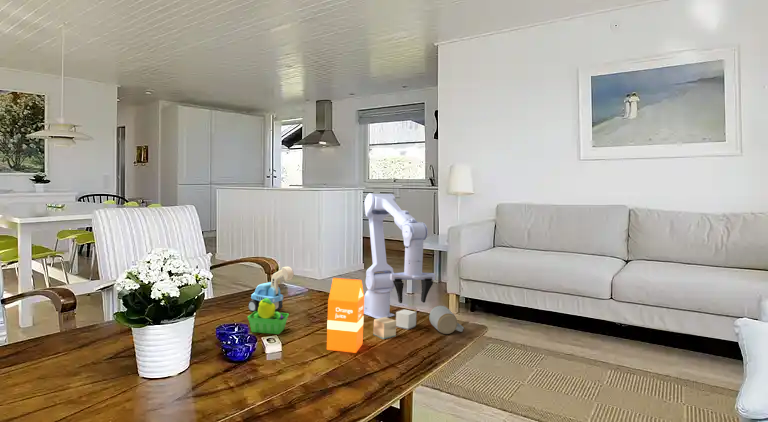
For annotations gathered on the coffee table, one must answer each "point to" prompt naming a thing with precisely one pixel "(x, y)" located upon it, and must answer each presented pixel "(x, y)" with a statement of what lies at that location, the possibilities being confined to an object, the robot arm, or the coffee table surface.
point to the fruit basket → (267, 318)
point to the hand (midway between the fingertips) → (411, 302)
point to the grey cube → (406, 319)
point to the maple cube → (384, 328)
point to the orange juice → (345, 315)
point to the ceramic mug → (444, 320)
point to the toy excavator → (271, 290)
